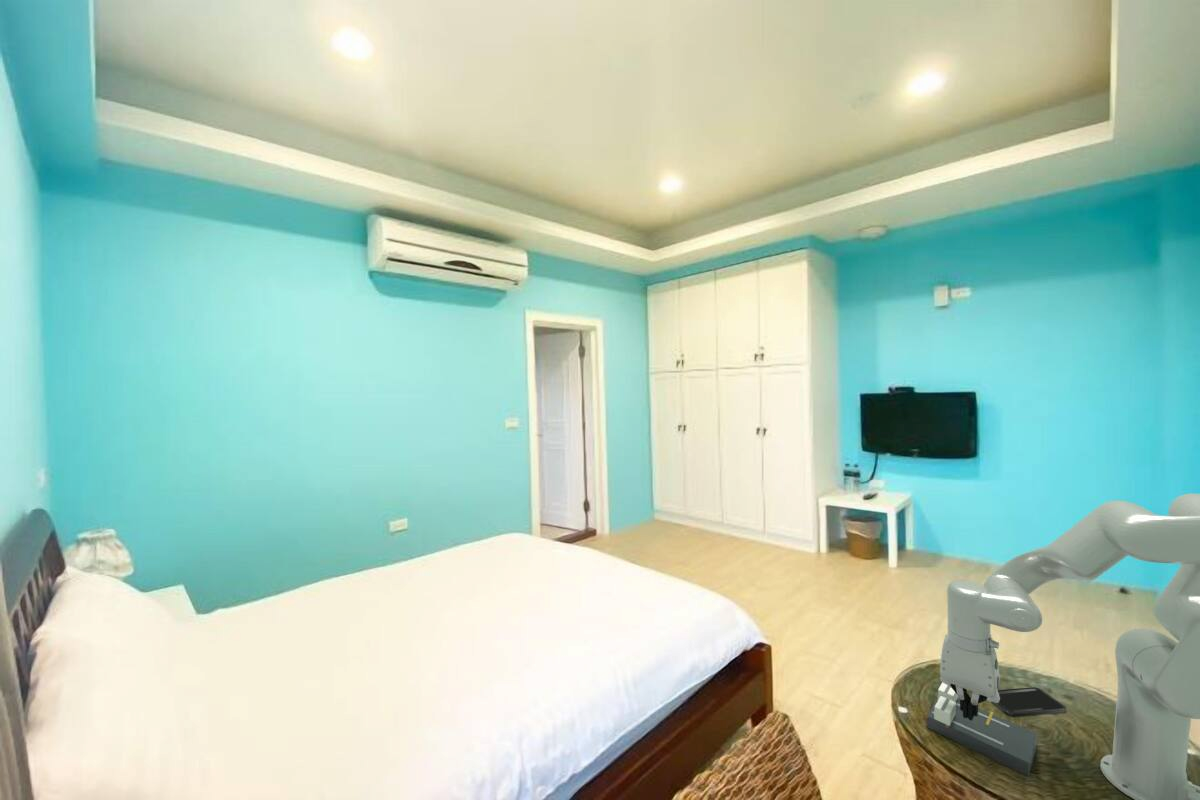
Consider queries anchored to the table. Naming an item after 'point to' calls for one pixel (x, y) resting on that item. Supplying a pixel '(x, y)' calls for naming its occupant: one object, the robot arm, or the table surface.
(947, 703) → the fader near
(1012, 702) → the phone
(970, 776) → the table surface
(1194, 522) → the robot arm
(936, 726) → the console
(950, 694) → the block
